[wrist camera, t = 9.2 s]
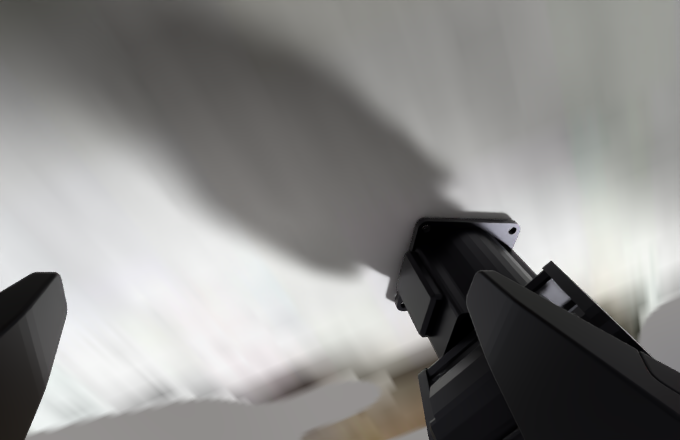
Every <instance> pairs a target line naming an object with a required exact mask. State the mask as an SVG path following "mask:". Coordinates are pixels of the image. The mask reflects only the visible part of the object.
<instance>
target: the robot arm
mask: <svg viewBox="0 0 680 440" xmlns="http://www.w3.org/2000/svg"><path fill="white" fill-rule="evenodd" d="M425 225H428V226H427V227H426V228H425V229H422V228H423V227H424V226H425ZM512 227H513V228H512ZM510 228H512V229H511V230H510V231H509V229H510ZM519 232H520V226H519V225H518V224H517V223H516V222H515V221H513V220H493V219H460V218H428V217H426V218H422V219H420V220H419V221H418V222H417V223H416V225H415V229H414V232H413V236H412V240H411V243H410V247H409V251H408V252H407V253H406V254H405V256H404V260H403V263H402V267H401V271H400V275H399V278H398V282H397V286H396V288H397V290H398V291H397V295H396V298H395V305H396V307H397V309H398V310H400V311H408V313H409V315H410V317H411V319H412V321H413V323H414V325H415V327H416V329H417V331H418V333H419V334H420V335H421V336H422V337H428V338H429V340H430V342H431V344H432V346H433V348H434V350H435V352H436V354H437V356H438V358H439V360H437V361H436V362H435V363H434V364H433V365H432V366H430V367H429V368H428V369H427V368H425V369H424V370H423V371H422V372H420V373H419V374H418V379H419V385H420V391H421V397H422V402H423V408H424V414H425V420H426V425H427V431H428V436H429V440H680V373H679V372H677V371H676V370H674V369H671V368H670V367H668V366H666V365H664V364H662V363H661V362H659V361H657V360H656V359H654V358H653V357H652V356H651V355H650V354H649V353H648V352H647V351H646V350H645V349H644V348H643V347H642V346H641V345H640V344H639V343H638V342H637V341H636V340H635V339H634V338H633V337H632V336H631V335H630V334H629V333H628V332H627V331H626V330H625V329H623V328H622V327H621V326H620V325H619V324H618V323H617V322H616V321H615V320H614V319H613V318H612V317H611V316H610V315H609V314H608V313H607V312H606V311H605V310H603V309H602V308H601V307H600V306H599V305H598V304H597V303H596V302H595V301H594V300H593V299H592V298H591V297H590V296H589V295H588V294H586V293H585V292H584V291H583V290H582V289H581V288H580V287H579V286H578V285H577V284H576V283H575V282H574V281H573V280H571V279H570V278H569V277H568V276H567V275H566V274H565V273H564V272H563V271H562V270H561V269H560V268H559V267H558V266H556V265H555V264H554V263H553V262H552V261H550V262H549V263H548V264H547V265H545V266H544V267H543V268H542V269H543V271H542V272H540V273H539V274H538V275H536V274H535V273H534V272H533V271H532V270H531V268H530V267H529V266H528V265H527V264H526V263H525V262H524V261H523V260H522V259H521V258H520V257H519V256H518V255H517V254H516V253H515V252H514V251H513V250H512V249H513V246H514V244H515V241H516V239H517V237H518V234H519ZM401 303H402V304H401ZM66 315H67V303H66V298H65V293H64V288H63V284H62V279H61V277H60V275H59V274H58V273H56V272H34V273H32V274H30V275H28V276H26V277H25V278H23V279H21V280H20V281H18V282H16V283H15V284H13V285H11V286H10V287H8V288H6V289H5V290H3V291H1V292H0V440H25V438H26V435H27V433H28V430H29V428H30V426H31V423H32V421H33V419H34V416H35V414H36V411H37V409H38V407H39V404H40V402H41V399H42V397H43V394H44V392H45V389H46V386H47V383H48V380H49V376H50V373H51V369H52V366H53V362H54V359H55V355H56V352H57V348H58V344H59V341H60V337H61V334H62V330H63V327H64V323H65V320H66Z"/></svg>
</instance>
